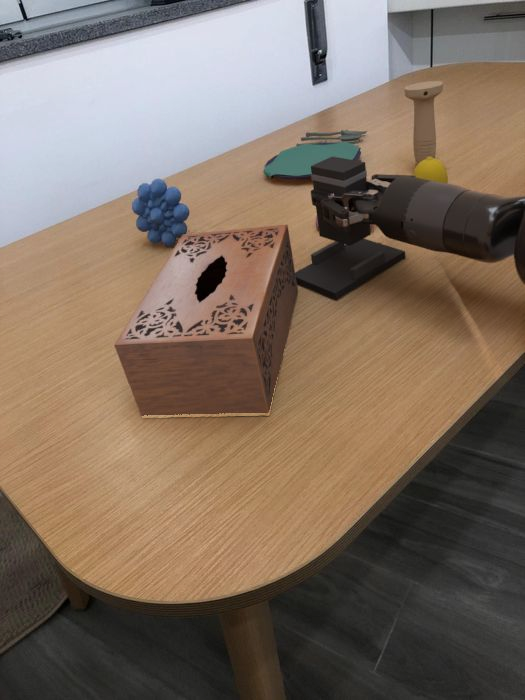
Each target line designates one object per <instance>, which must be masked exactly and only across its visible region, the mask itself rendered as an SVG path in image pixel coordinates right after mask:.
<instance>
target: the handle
mask: <svg viewBox="0 0 525 700" xmlns="http://www.w3.org/2000/svg"><path fill="white" fill-rule="evenodd" d="M443 90H444V82H443V81H441V80H430V81H421V82H417V83H416V82H415V83H412V84H409V85H406V86H405V87H404V96H405V97H406V98H407V99H409V100H411V101H413V108H414V109H413V136H412V137H413V139H412V140H413V141H412V145H413V154H414V160H415V167H416V166H417V165H418V164H419V163H420V162H421V161H423V160H425V159H426V158H427V157H432V158H434V159H436V152H437V133H436V132H437V131H436V119H435V98H436V97H437V96H439V95H440V94H441V93H442V92H443Z"/></svg>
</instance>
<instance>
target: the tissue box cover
mask: <svg viewBox="0 0 525 700" xmlns="http://www.w3.org/2000/svg"><path fill="white" fill-rule="evenodd" d="M289 232H290V231H289V227H288V224H279V225H269V226H268V225H267V226H259V227H258V226H256V227H247V228H236V229H225V230H214V231H205V232H203V231H202V232H193V233H186V234H183V235H182V236H181V238H179V239H178V241H177V242H176V243H175V245H174V247H173V249H172V250H171V252H170V254H169V255H168V256H167V259H166V261H165V262H164V264H163V265H162V267H161V269H160V271H159V272H158V274H157V275H156V277H155V278H154V280H153V282H152V283H151V285H150V287H149V288H148V290H147V291H146V293H145V294H144V296H143V298H142V299H141V301H140V303H139V304H138V305H137V307H136V309H135V311H134V312H133V314H132V315H131V317H130V318H129V320H128V322H127V324H126V325H125V327H124V328H123V330H122V332H121V333H120V335H119V336H118V338H117V340H116V341H115V343H114V344H113V345H114V348H115V351H116V354H117V356H118V359H119V362H120V364H121V367H122V369H123V372H124V374H125V377H126V379H127V383H128V385H129V388H130V390H131V393H132V395H133V398H134V401H135V404H136V406H137V408H138V412H139V415H140V417H141V416H144V415H147V416H148V415H175V414H176V415H178V414H179V415H180V414H181V415H182V414H189V415H190V414H219V413H221V414H222V413H224V414H225V413H268V412H269V410H270V406H271V402H272V397H273V393H274V388H275V385H276V381H277V377H278V374H279V375H280V373H279V370H280V371H281V368H280V365H281V366H282V364H281V362H282V363H283V359H284V355H283V353H284V354H285V351H284V349H285V350H286V346H287V342H286V341H288V338H287V337H289V332H290V328H291V324H292V319H293V315H294V311H295V306H296V302H297V298H298V297H297V296H298V294H299V289H298V288H299V287H298V284H297V282H296V275H295V272H296V270H295V265H294V256H293V252H292V251H293V250H292V244H291V239H290V233H289ZM285 345H286V346H285ZM282 358H283V359H282ZM278 378H279V377H278ZM277 382H278V381H277Z"/></svg>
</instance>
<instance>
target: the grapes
mask: <svg viewBox="0 0 525 700" xmlns="http://www.w3.org/2000/svg"><path fill="white" fill-rule="evenodd" d="M181 200H182V192H181V190H180V189H179V188H177V187H175V186H170V187H168V185H167V183H166V181H165V180H163V179H162V178H154V180H152V182H151V183H150V184H149V183H146V182H145V183H144V182H143V183H141V184H140V185H139V186H138V188H137V197H135V198H134V199H133V201H132V203H131V210H132V212H133V213H134V214H135V215H136V216H137V218H136V221H135V226H136V229H137V230H138V231H139V232H141V233H147V235H146V236H147V240H148V242H150V244H152V245H158V244H160V243H162V244H163V246H165V247H169V248H170V247H173V246H175V245H176V244H177V242H178V241H177V239H180V238H181V236H182V235H183V234H188V226H187V223H186V221H188V218H189V216H190V208H189V207H188V205H187V204H185V203H180V202H181Z"/></svg>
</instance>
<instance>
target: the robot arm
mask: <svg viewBox="0 0 525 700" xmlns="http://www.w3.org/2000/svg"><path fill="white" fill-rule="evenodd" d="M370 177H371V178H370V179H369V178H367V177H366V179H367V182H366V189H367V191H354V190H349V191H347V192H346V193H345V194H342V193H333V192H330V191H326V190H322V189H318V188H315V189H314V188H313V189H311V190H310V196H311V197H310V198H311V204H312V206H314V207H316V206H317V207H321V208H323V219H324V220H325V221H326V222H328V223H329V224H331V225H332V226H333V227H335V228H336V229H338V230H339V231H340V232H348V231H350V224H354V223H357V222H361V223H362V224H372V225H373V226H377V228H378V229H379V230H380V232H381V233H382V234H383V235H384V236H385V237H386V238H388V239H391V240H393V241H398V242H401V243H405V244H408V245H412V246H415V247H418V248H422V249H425V250H429V251H432V252H438V253H447V254H451V255H455V256H459V257H462V258H466V259H469V260H472V261H477V262H480V263H486V264H497V263H500V262H502V261H505V260H507V259H509V258H510V257H513V260H514V261H513V262H514V268H515V271H516V273H517V277H518V278H519V280H520V282H521V283H522V284H523V286H525V195H520V196H510V197H509V196H502V195H497V194H492V193H488V192H487V193H486V192H482V191H476V190H472V189H467V188H464V187H462V186H459V185H456V184H452V183H449V182H448V183H442V182H436V181H432V180H426V179H421V178H416V176H413V174H412V175H411V174H409V175H408V174H383V173H382V174H379V173H375V174H373V175H371V176H370ZM353 198H355V199H354V205H353ZM339 201H343V204H344V207H342V206H341V205H339Z"/></svg>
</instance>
